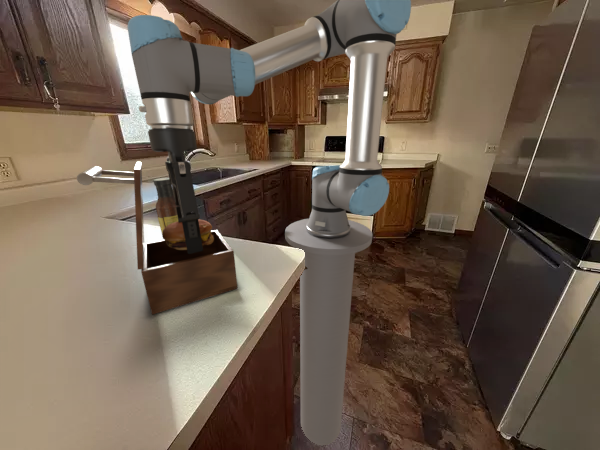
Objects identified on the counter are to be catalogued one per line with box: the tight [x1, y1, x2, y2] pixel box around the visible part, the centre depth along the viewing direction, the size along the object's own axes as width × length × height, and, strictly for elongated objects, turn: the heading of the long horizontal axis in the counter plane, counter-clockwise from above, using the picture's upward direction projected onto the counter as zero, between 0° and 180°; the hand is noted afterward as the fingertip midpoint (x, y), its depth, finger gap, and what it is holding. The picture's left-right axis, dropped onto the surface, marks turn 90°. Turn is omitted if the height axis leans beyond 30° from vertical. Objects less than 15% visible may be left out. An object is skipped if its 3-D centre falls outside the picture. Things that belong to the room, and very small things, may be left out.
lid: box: [76, 161, 145, 270], centre depth 42 cm, size 16×14×8 cm
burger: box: [161, 218, 214, 250], centre depth 50 cm, size 10×9×5 cm
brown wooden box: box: [140, 229, 239, 315], centre depth 51 cm, size 16×14×9 cm
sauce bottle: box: [153, 177, 179, 240], centre depth 66 cm, size 6×6×20 cm
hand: (191, 242), depth 51 cm, fingers closed on burger, 10 cm apart
